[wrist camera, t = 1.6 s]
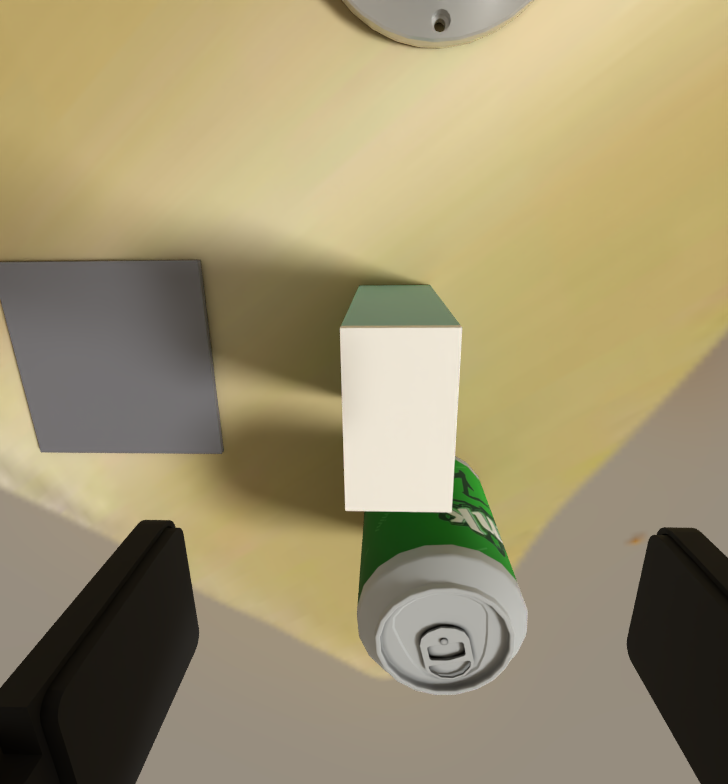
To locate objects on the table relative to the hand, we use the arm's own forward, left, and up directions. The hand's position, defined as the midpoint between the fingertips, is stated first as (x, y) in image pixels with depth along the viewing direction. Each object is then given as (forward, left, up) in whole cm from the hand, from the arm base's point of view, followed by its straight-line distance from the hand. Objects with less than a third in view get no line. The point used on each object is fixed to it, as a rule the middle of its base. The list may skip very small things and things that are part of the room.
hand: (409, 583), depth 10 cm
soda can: (+10, +2, -20) cm, 22 cm away
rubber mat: (+1, -17, -20) cm, 26 cm away
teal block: (0, 0, -20) cm, 20 cm away
